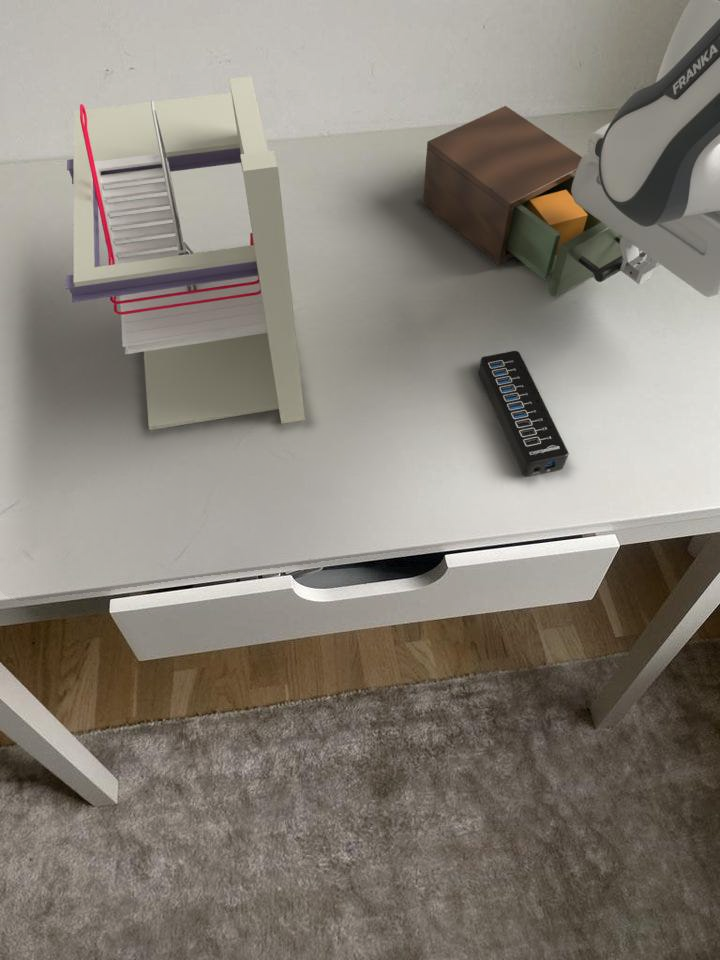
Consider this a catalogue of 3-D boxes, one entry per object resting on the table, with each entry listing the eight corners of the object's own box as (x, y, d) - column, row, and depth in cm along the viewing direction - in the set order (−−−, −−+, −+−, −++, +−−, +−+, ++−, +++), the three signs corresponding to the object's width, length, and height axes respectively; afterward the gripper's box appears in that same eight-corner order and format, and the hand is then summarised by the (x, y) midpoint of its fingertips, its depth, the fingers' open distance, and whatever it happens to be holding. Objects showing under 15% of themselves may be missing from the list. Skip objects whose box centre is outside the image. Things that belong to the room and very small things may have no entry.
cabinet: (573, 223, 97) (590, 162, 90) (498, 264, 93) (510, 203, 86) (495, 167, 104) (505, 105, 96) (422, 203, 100) (427, 141, 92)
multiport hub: (514, 363, 84) (518, 349, 82) (565, 468, 77) (570, 455, 75) (476, 371, 84) (479, 356, 82) (523, 477, 76) (528, 464, 74)
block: (557, 224, 94) (566, 189, 90) (577, 249, 91) (588, 214, 87) (521, 234, 93) (528, 199, 89) (541, 259, 90) (549, 225, 86)
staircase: (121, 269, 93) (30, 7, 68) (269, 248, 95) (234, -14, 70) (129, 448, 78) (18, 199, 53) (304, 419, 80) (277, 166, 55)
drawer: (648, 275, 91) (667, 227, 85) (578, 317, 87) (594, 270, 81) (545, 200, 98) (556, 151, 93) (477, 235, 95) (484, 187, 89)
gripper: (789, 208, 69) (727, 318, 81) (622, 105, 78) (588, 217, 90) (744, 236, 67) (688, 344, 79) (578, 126, 76) (549, 238, 88)
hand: (633, 275), depth 85 cm, fingers closed
